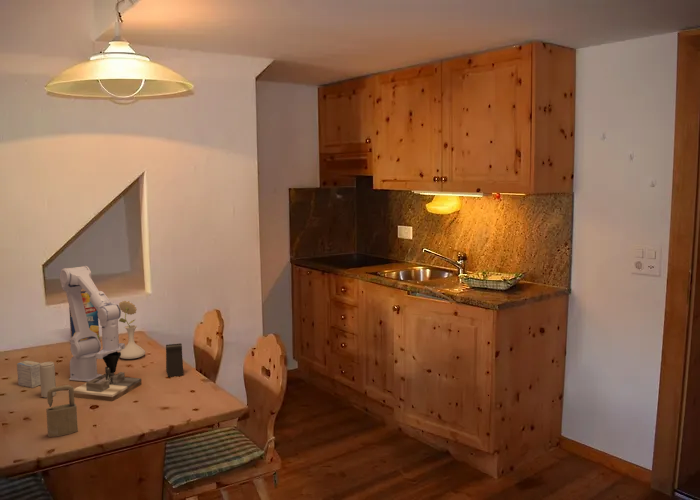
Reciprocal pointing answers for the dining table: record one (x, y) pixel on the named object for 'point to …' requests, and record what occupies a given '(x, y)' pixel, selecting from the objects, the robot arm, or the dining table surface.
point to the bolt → (108, 375)
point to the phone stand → (174, 360)
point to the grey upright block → (28, 374)
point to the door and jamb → (107, 387)
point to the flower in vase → (130, 333)
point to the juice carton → (87, 315)
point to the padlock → (61, 414)
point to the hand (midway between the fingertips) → (111, 372)
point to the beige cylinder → (47, 378)
